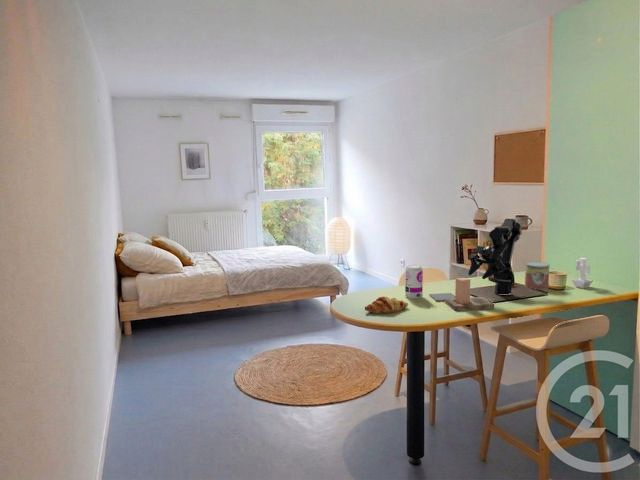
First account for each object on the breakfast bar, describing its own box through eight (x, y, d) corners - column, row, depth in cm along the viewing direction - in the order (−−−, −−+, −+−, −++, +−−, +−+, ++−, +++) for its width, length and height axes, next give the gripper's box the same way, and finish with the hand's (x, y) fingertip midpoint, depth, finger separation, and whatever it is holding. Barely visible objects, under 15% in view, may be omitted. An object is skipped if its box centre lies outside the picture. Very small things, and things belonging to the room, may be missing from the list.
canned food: (526, 289, 249) (527, 266, 247) (523, 284, 260) (523, 261, 258) (550, 290, 246) (551, 266, 245) (546, 284, 257) (547, 262, 255)
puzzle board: (482, 301, 229) (482, 296, 229) (494, 308, 217) (494, 304, 216) (444, 302, 227) (445, 298, 227) (454, 310, 215) (454, 306, 215)
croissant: (404, 313, 224) (400, 296, 227) (415, 308, 215) (410, 291, 218) (362, 318, 217) (358, 301, 219) (371, 313, 208) (367, 295, 210)
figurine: (594, 287, 250) (596, 258, 248) (582, 289, 246) (584, 260, 244) (581, 284, 256) (582, 256, 254) (569, 286, 252) (570, 257, 250)
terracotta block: (463, 304, 225) (463, 277, 223) (469, 306, 221) (470, 279, 219) (455, 305, 223) (455, 278, 221) (461, 307, 219) (462, 280, 217)
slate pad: (450, 294, 242) (450, 292, 242) (459, 300, 231) (459, 298, 231) (429, 295, 241) (429, 293, 241) (436, 301, 230) (436, 299, 230)
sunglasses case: (521, 286, 255) (516, 275, 254) (510, 293, 254) (505, 283, 253) (501, 278, 273) (496, 269, 271) (491, 285, 272) (486, 276, 270)
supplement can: (425, 296, 239) (425, 266, 237) (416, 300, 234) (416, 269, 231) (411, 293, 245) (411, 264, 243) (402, 297, 239) (402, 267, 237)
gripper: (472, 236, 231) (452, 262, 228) (501, 242, 214) (480, 269, 211) (485, 251, 235) (466, 276, 232) (514, 258, 218) (493, 285, 215)
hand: (475, 276), depth 223 cm, fingers open, 9 cm apart
